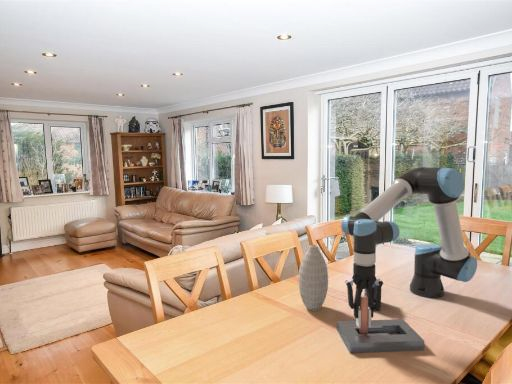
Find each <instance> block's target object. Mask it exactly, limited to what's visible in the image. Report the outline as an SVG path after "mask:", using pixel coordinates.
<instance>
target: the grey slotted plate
mask: <svg viewBox="0 0 512 384" xmlns="http://www.w3.org/2000/svg"><path fill="white" fill-rule="evenodd" d="M336 331H337V333H338V334H339V337H340V338H341V341H342V342H343V344H344V345H345V347H346V349H347V351H348V353H349V354H362V353H363V354H364V353H365V354H367V353H388V352H391V353H392V352H413V351H414V352H415V351H416V352H417V351H424V350H425V340H424V339H423V338H422V336H421V335H419V334H418V332H416V331H415V329H413V328H412V327H411V326H410V325H409V323H408V322H407V321H405V320H404V319H403V318H397V319H396V318H395V319H371V328H369V327H368V334H358V333H359V328H358V326H357V325H356V320H340V321H339V320H337V321H336Z"/></svg>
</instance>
